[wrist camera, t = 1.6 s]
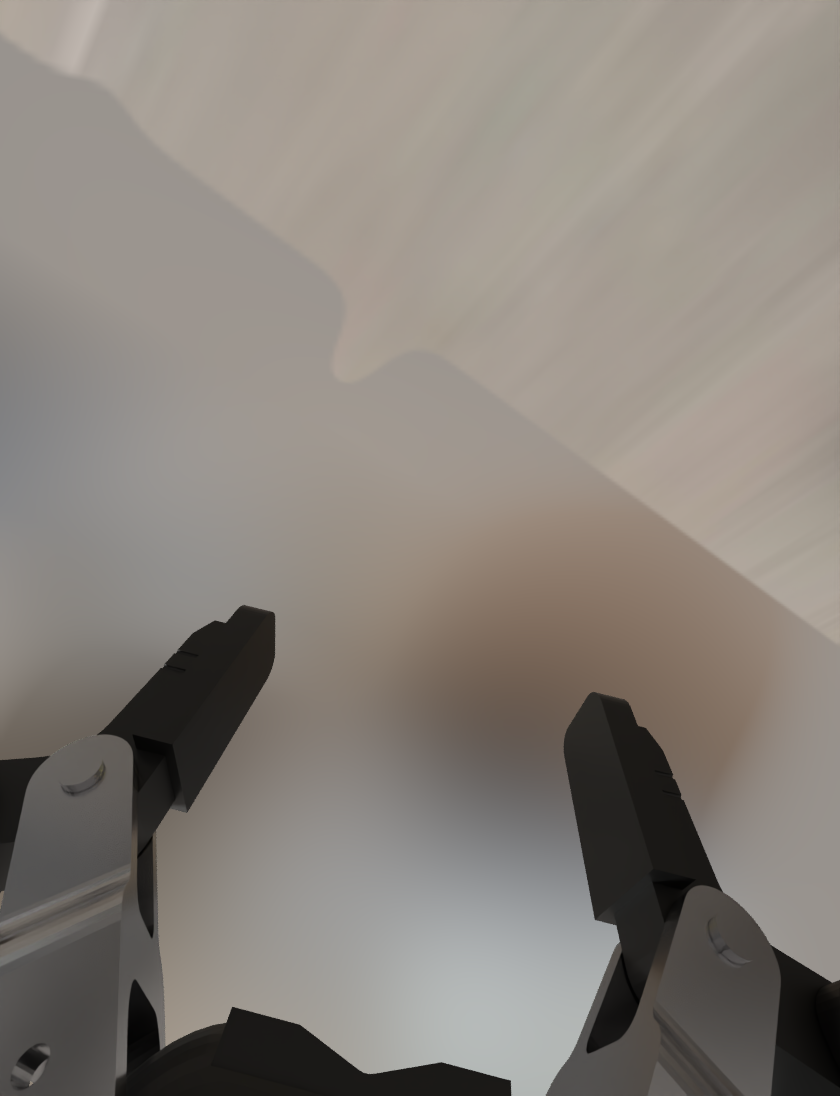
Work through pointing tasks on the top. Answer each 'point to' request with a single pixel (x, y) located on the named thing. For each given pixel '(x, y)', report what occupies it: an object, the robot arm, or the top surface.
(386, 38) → the top surface
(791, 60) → the top surface
